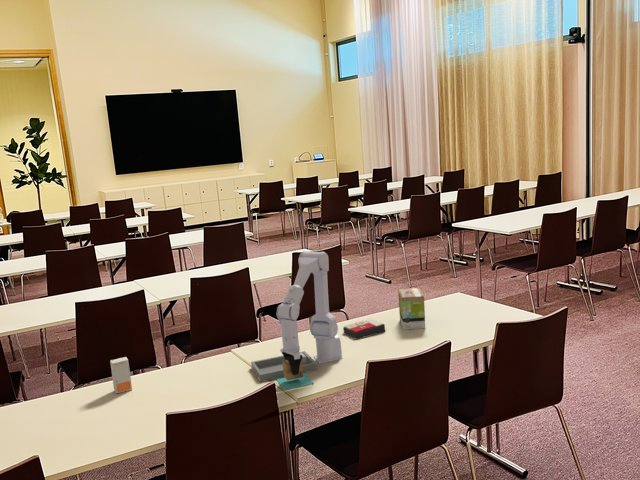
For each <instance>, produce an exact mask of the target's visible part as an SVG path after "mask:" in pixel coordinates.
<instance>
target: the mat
mask: <svg viewBox="0 0 640 480" xmlns="http://www.w3.org/2000/svg"><path fill="white" fill-rule="evenodd" d="M275 380H276V381H277V383H278V384H279V385H280V387H281V388H282V389H283V391H288V390H293V389H297V388H302V387H306V386H311V385H313V384H314V382H313V381H312V379H310V377H309V376H308V375H307V374H306V372H304V373H303V377H302V378H297V379H292V380H288V381H287V380H286V378H285V377H280V378H275Z"/></svg>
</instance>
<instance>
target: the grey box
mask: <svg viewBox="0 0 640 480" xmlns="http://www.w3.org/2000/svg"><path fill="white" fill-rule="evenodd" d="M300 355H302V356H303V358H302V360H301V361H302V365H306V364H307V360H306V356H305V355H304V354H303V353H300Z"/></svg>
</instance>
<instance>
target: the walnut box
mask: <svg viewBox="0 0 640 480" xmlns="http://www.w3.org/2000/svg"><path fill="white" fill-rule="evenodd" d="M282 363H283V373H284V377H285V378H286V380H287V381H288V380H292V379H297V378H302V377H303V369H302V361H301V363H300V367H299V374H297V375H293V374H292V371H291V367H290V364H289V362H288V360H283V361H282Z"/></svg>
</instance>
